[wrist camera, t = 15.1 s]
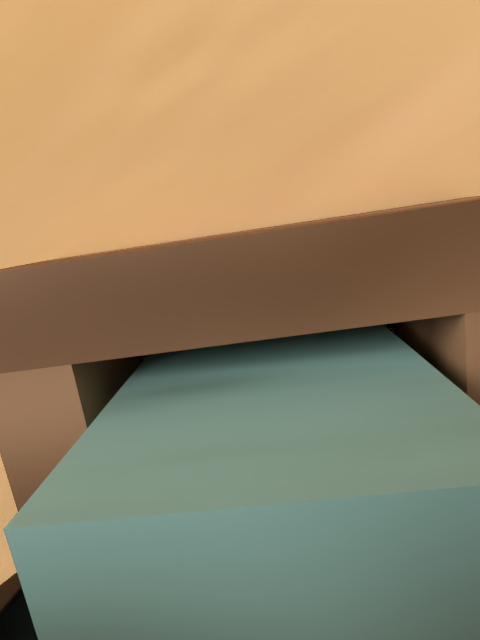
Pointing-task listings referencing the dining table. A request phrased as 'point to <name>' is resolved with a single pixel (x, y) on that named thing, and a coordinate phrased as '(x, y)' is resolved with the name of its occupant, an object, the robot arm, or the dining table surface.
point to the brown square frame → (226, 311)
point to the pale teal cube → (264, 500)
